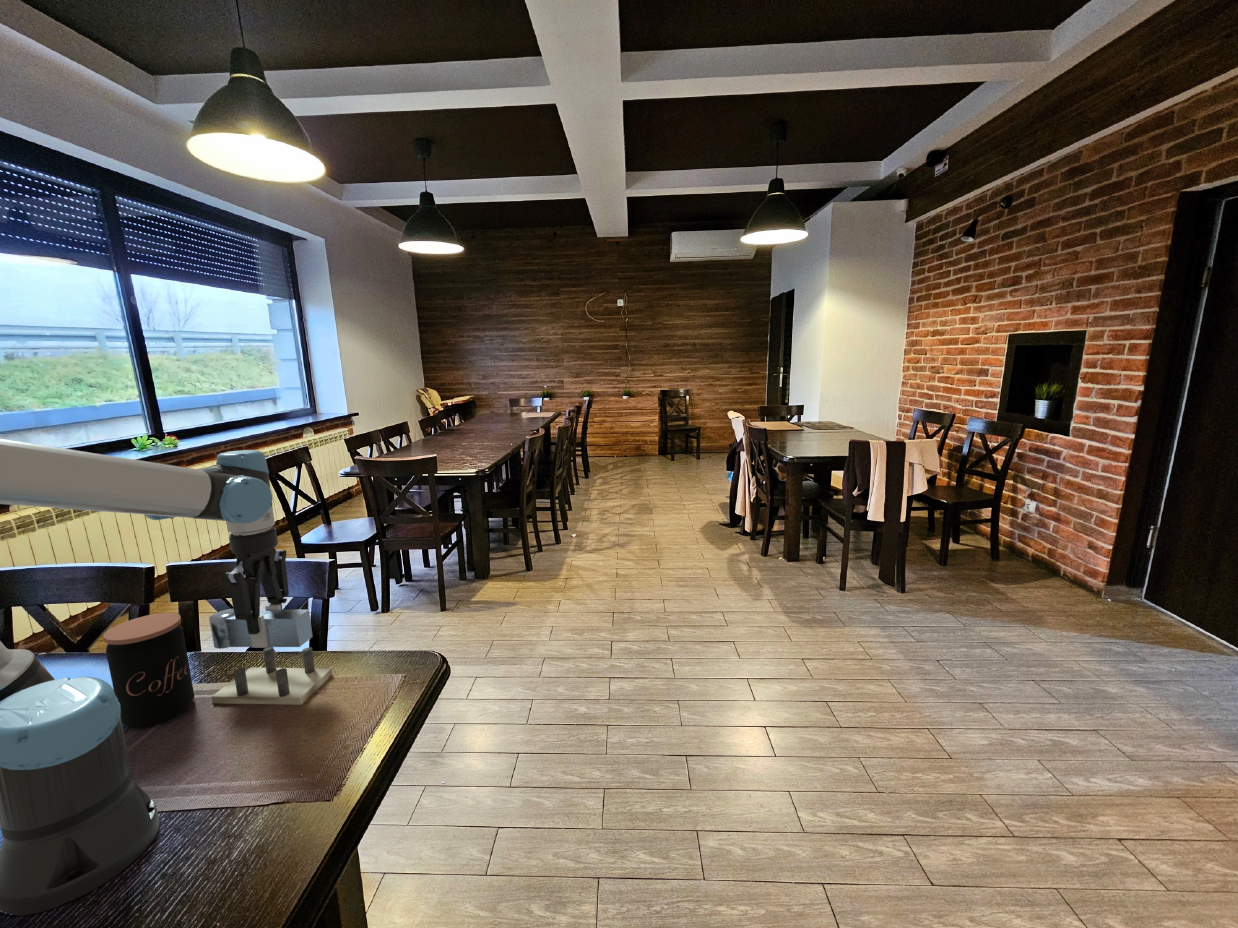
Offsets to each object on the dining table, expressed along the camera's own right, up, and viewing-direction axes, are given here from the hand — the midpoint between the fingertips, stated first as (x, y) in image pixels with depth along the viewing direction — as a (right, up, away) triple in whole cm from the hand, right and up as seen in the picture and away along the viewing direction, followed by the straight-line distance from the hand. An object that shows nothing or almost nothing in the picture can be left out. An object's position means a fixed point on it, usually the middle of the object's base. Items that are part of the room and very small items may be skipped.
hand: (268, 640), depth 102 cm
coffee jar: (-17, -12, -5) cm, 22 cm away
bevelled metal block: (-1, 0, 0) cm, 2 cm away
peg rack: (0, -11, +2) cm, 11 cm away
